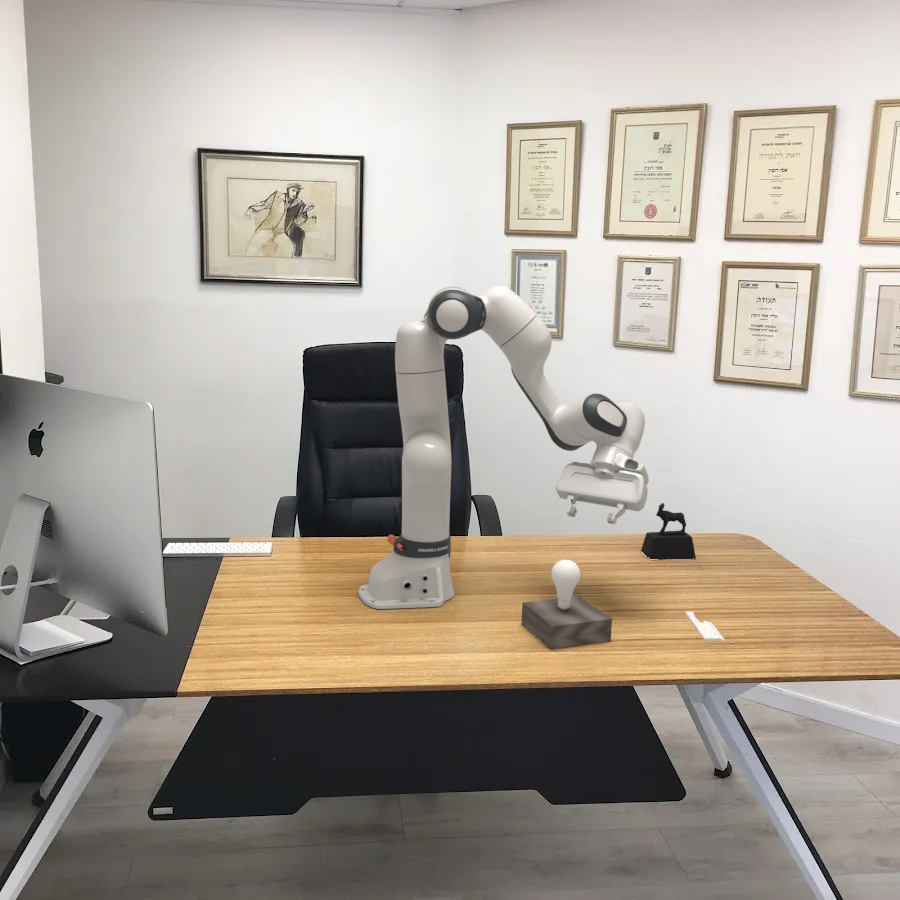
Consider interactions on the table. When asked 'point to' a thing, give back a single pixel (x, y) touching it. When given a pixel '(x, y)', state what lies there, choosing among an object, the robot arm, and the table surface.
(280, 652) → the table surface
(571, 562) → the lightbulb
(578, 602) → the charcoal block
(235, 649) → the table surface
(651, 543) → the sculpture
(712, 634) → the white plastic blade
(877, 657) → the table surface
